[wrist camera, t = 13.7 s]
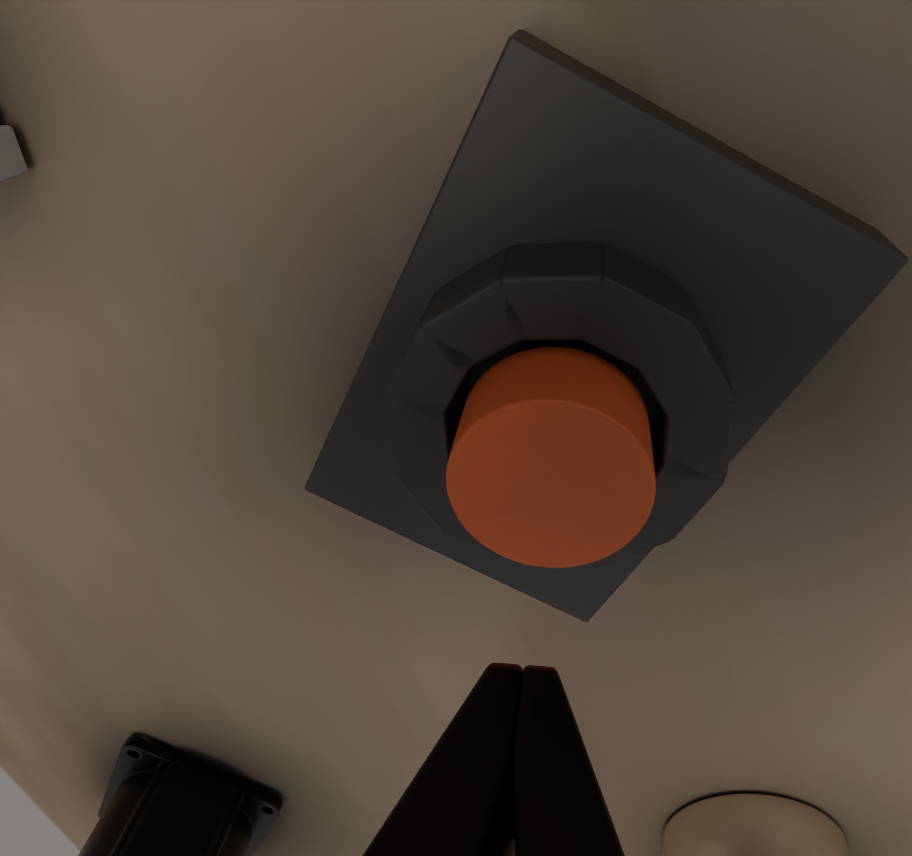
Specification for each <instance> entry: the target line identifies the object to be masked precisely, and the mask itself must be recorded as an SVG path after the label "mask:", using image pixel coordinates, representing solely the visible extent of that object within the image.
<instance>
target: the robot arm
mask: <svg viewBox="0 0 912 856" xmlns="http://www.w3.org/2000/svg"><path fill="white" fill-rule="evenodd" d="M282 805H283V801H282V799H281V798H280V797H279V796H277V795H275V794H273V793H270V792H268V791H266V790H263V789H261V788H258V787H256V786H254V785H251V784H249V783H247V782H244V781H242V780H239V779H237V778H235V777H232V776H230V775H228V774H225V773H223V772H220V771H218V770H216V769H213V768H211V767H209V766H206V765H204V764H201V763H199V762H197V761H194V760H192V759H190V758H187V757H185V756H183V755H180V754H178V753H175V752H173V751H171V750H168V749H166V748H164V747H161V746H159V745H156V744H154V743H152V742H149V741H147V740H145V739H142V738H139V737H129V738H128V739H127V740H126V742H125V744H124V745H123V747H122V749H121V751H120V754H119V757H118V760H117V762H116V765H115V768H114V771H113V774H112V776H111V779H110V782H109V785H108V788H107V790H106V793H105V796H104V799H103V802H102V804H101V807H100V810H99V813H98V816H99V817H100V820H99V821H98V823H97V825H96V826H95V828H94V830H93V832H92V833H91V835H90V837H89V838H88V840H87V842H86V844H85V845H84V847H83V849H82V850H81V852H80V854H79V856H252V855H253V853H254V852H255V850H256V849H257V847H258V846H259V844H260V843H261V841H262V840H263V838H264V837H265V835H266V834H267V832H268V831H269V829H270V827H271V826H272V824H273V823H274V821H275V820H276V818H277V817H278V815H279V813H280V810H281V808H282ZM363 856H625V855H624V852H623V850H622V847H621V844H620V841H619V839H618V836H617V833H616V830H615V828H614V825H613V822H612V819H611V817H610V814H609V811H608V808H607V806H606V803H605V800H604V797H603V795H602V792H601V789H600V786H599V784H598V781H597V778H596V775H595V773H594V770H593V767H592V764H591V762H590V759H589V756H588V753H587V751H586V748H585V745H584V742H583V740H582V737H581V734H580V731H579V729H578V726H577V723H576V720H575V718H574V715H573V712H572V709H571V707H570V704H569V701H568V698H567V696H566V693H565V690H564V687H563V685H562V682H561V679H560V676H559V674H558V672H557V670H556V669H555V668H553V667H546V666H533V665H528V666H526V667H524V669H522V667H521V666H519V665H517V664H505V663H492V664H490V665H489V666H488V667H487V668H486V669H485V671H484V672H483V674H482V675H481V677H480V678H479V680H478V681H477V683H476V684H475V686H474V687H473V689H472V690H471V692H470V693H469V695H468V697H467V698H466V700H465V701H464V703H463V704H462V706H461V707H460V709H459V710H458V712H457V713H456V715H455V716H454V718H453V719H452V721H451V722H450V724H449V725H448V727H447V728H446V730H445V731H444V733H443V734H442V736H441V737H440V739H439V740H438V742H437V743H436V745H435V747H434V748H433V750H432V751H431V753H430V754H429V756H428V757H427V759H426V760H425V762H424V763H423V765H422V766H421V768H420V769H419V771H418V772H417V774H416V775H415V777H414V778H413V780H412V781H411V783H410V784H409V786H408V787H407V789H406V790H405V792H404V794H403V795H402V797H401V798H400V800H399V801H398V803H397V804H396V806H395V807H394V809H393V810H392V812H391V813H390V815H389V816H388V818H387V819H386V821H385V822H384V824H383V825H382V827H381V828H380V830H379V831H378V833H377V834H376V836H375V837H374V839H373V841H372V842H371V844H370V845H369V847H368V848H367V850H366V851H365V853H364V854H363Z"/></svg>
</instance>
